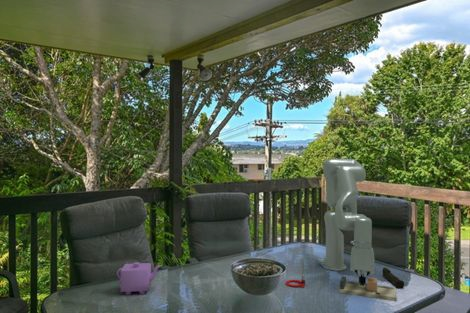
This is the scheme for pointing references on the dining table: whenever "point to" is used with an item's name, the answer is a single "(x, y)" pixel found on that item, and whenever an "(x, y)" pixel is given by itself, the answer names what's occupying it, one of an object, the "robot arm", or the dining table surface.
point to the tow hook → (302, 282)
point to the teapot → (136, 277)
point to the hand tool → (392, 278)
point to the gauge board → (356, 289)
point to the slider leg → (372, 284)
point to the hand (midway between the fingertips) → (362, 284)
